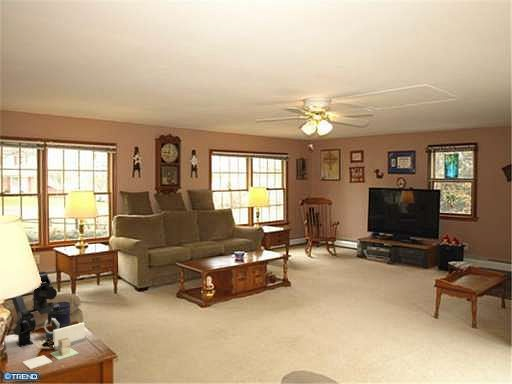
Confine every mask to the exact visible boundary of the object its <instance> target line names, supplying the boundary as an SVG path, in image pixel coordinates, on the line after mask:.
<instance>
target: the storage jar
mask: <svg viewBox="0 0 512 384" xmlns="http://www.w3.org/2000/svg"><path fill="white" fill-rule="evenodd" d="M56 303H57V304H59V305H60V310H57V312H55V313H54V314H53V317H52V318H53V319H54V318H55V319H56V320H57V321H58V322H59V324H60V325H59V329H60V328H64V327H67V326H71V317H70V316H71V315H70V313H71V303H70V302H69V301H58V302H56ZM56 328H57V326H56V325H55V323H54V322H53V320H51V329H52V330H51V331H53V330H55V329H56Z"/></svg>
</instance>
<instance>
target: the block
mask: <svg viewBox="0 0 512 384" xmlns="http://www.w3.org/2000/svg"><path fill="white" fill-rule="evenodd" d="M70 348H71V345H70V339H68V338H67V337H65V338H61V339H58V349H57V351H58V353H59V354H61V355H62V356H64V355H67V354H70V353H71V352H70Z"/></svg>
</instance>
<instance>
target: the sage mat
mask: <svg viewBox="0 0 512 384" xmlns="http://www.w3.org/2000/svg"><path fill="white" fill-rule="evenodd" d="M70 352H71V353H70V354H67V355H64V356H62V355H61V354H59V353H58V350H57V351H53V352H50V353H49V354H50V355H51V356H52V357H54V358H55V359H57V360H58V361H61V360H64V359H65V358H69V357H72V356H76V355H79V351H76V350H74V349H73V348H71V347H70Z"/></svg>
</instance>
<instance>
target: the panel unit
mask: <svg viewBox="0 0 512 384" xmlns="http://www.w3.org/2000/svg"><path fill="white" fill-rule="evenodd" d="M85 330H86V328H85V322H83V321H82V322H80V323H75V324H73V325H71V324H70V326H67V327H64V328H60V329H56V330H53V342H54V348H53V349H54V350H57V351H58V339H61V338H65V337H67V338H68V339H70V346H73V345H76V344H79V343H83V342H86V339H87V338H86V335H85V334H86V331H85Z"/></svg>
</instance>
